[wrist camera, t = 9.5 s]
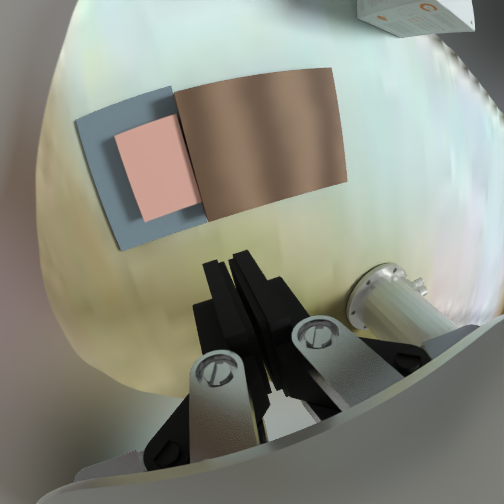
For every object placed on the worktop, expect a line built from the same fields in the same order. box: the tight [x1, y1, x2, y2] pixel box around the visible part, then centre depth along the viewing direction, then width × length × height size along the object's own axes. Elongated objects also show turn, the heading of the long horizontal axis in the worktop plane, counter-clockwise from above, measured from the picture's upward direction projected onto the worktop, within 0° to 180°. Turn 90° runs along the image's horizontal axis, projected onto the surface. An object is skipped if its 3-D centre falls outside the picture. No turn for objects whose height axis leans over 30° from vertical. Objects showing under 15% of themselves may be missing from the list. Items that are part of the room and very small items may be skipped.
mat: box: [76, 86, 207, 251], centre depth 27 cm, size 10×15×1 cm, turn 11°
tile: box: [114, 114, 202, 222], centre depth 26 cm, size 6×9×2 cm, turn 13°
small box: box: [357, 0, 475, 38], centre depth 20 cm, size 8×6×13 cm
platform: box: [173, 68, 347, 222], centre depth 28 cm, size 16×13×3 cm
